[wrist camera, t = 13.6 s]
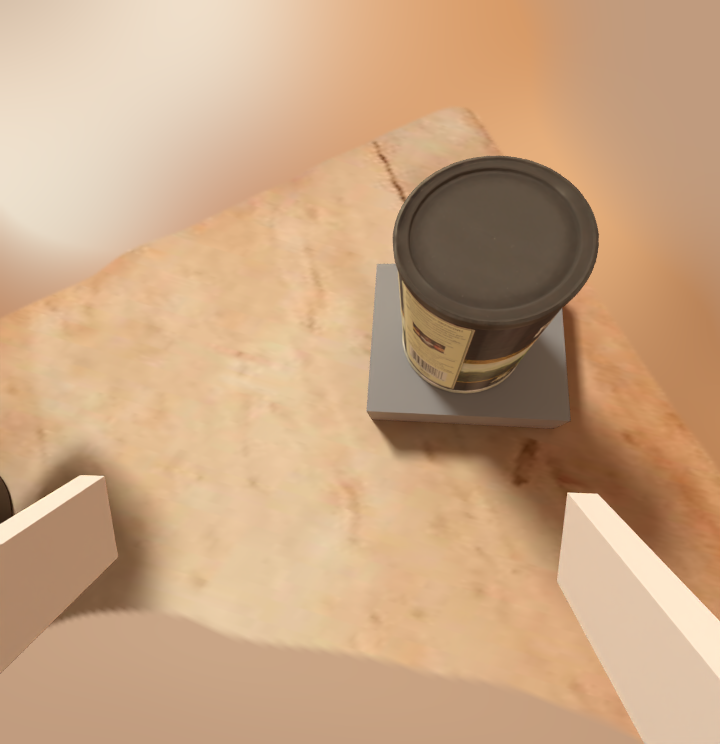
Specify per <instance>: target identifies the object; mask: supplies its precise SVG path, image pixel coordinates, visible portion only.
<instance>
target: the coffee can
mask: <svg viewBox="0 0 720 744" xmlns="http://www.w3.org/2000/svg"><path fill="white" fill-rule="evenodd" d="M598 238H599V234H598V228H597V224H596V220H595V217H594V214H593V212H592V209H591V207H590V206H589V204H588V202H587V201H586V199H585V198H584V197H583V195H582V194H581V193H580V191H579V190H578V189H577V188H576V187H575V186H574V185H573V184H572V183H571V182H569V181H568V180H567V179H566V178H564V177H563V176H561V175H560V174H558V173H557V172H555V171H553V170H552V169H550V168H548V167H546V166H544V165H541V164H539V163H536V162H533V161H530V160H526V159H521V158H516V157H509V156H484V157H476V158H471V159H466V160H463V161H459V162H456V163H453V164H451V165H449V166H447V167H444V168H442V169H440V170H438V171H437V172H435V173H433V174H432V175H430V176H429V177H428V178H426V179H425V180H424V181H423V182H421V183H420V184H419V185H418V186H417V187H416V188H415V189H414V190H413V191H412V192H411V194H410V195H409V196H408V198H407V199H406V201H405V202H404V204H403V205H402V207H401V210H400V211H399V214H398V216H397V219H396V222H395V226H394V231H393V251H394V258H395V263H396V267H397V270H398V280H399V292H400V306H401V317H402V328H403V333H402V343H403V348H404V352H405V355H406V357H407V359H408V361H409V363H410V365H411V367H412V368H413V369H414V370H415V371H416V372H417V374H418V375H419V376H421V377H422V378H423V379H424V380H425V381H427V382H428V383H430V384H432V385H433V386H435V387H437V388H440V389H443V390H446V391H449V392H454V393H475V392H480V391H484V390H487V389H490V388H492V387H494V386H496V385H498V384H499V383H501V382H503V381H504V380H505V379H506V378H507V377H508V376H509V375H510V374H511V373H512V372H513V371H514V370H515V368H516V367H517V365H518V363H519V362H520V360H521V359H522V358H523V356H524V355H525V354H526V352H527V351H528V350H529V348H530V347H531V346H532V345H533V343H534V342H535V341H536V340H537V339H538V337H539V336H540V335H541V333H542V332H543V331H544V330H545V329H546V328H547V326H548V325H549V324H550V323H551V321H552V320H553V319H554V317H555V316H556V315H557V314H558V312H559V311H560V310H561V309H562V307H564V306H565V305H566V304H567V303H568V302H569V301H570V300H571V299H572V298H573V297H575V296H576V294H577V293H578V292H579V291H580V290H581V288H582V287H583V286H584V284H585V283H586V282H587V280H588V278H589V276H590V274H591V273H592V270H593V268H594V264H595V262H596V258H597V253H598V246H599V243H598Z"/></svg>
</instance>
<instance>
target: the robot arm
mask: <svg viewBox="0 0 720 744" xmlns="http://www.w3.org/2000/svg"><path fill="white" fill-rule="evenodd" d="M117 558H118V553H117V547H116V541H115V535H114V529H113V523H112V517H111V511H110V505H109V499H108V493H107V487H106V481H105V476H93V475H80V476H78V477H76V478H75V479H73V480H72V481H70V482H68V483H67V484H65V485H63V486H62V487H60V488H58V489H57V490H55V491H53V492H52V493H50V494H49V495H47V496H45V497H44V498H42V499H40V500H39V501H37V502H35V503H34V504H32V505H31V506H29V507H27V508H26V509H24V510H22V511H21V512H19V513H17V514H16V515H14V516H13V517H11V505H10V499H9V495H8V492H7V489H6V487H5V485H4V483H3V481H2V479H1V478H0V673H1V672H2V671H4V669H6V668H7V667H8V666H9V665H10V664H11V663H12V662H13V661H14V660H15V659H16V658H17V657H18V656H19V655H20V654H21V653H22V651H24V650H25V649H26V648H27V647H28V646H29V645H30V644H31V643H32V642H33V641H34V640H35V639H36V638H37V637H38V636H39V635H40V634H41V633H42V632H43V631H44V630H45V629H46V628H47V627H48V626H49V625H50V624H51V623H52V622H53V621H54V620H55V619H56V618H57V617H58V616H59V615H60V614H61V613H62V612H63V611H64V610H65V609H66V608H67V607H68V606H69V605H70V604H71V603H72V602H73V601H74V600H75V599H76V598H77V597H78V596H79V595H80V594H81V593H82V592H83V591H84V590H85V589H86V588H87V587H88V586H89V585H90V584H92V583H93V582H94V581H95V580H96V579H97V578H98V577H99V576H100V575H101V574H102V573H103V572H104V571H105V570H106V569H107V568H108V567H109V566H110V565H111V564H112V563H113V562H114V561H115V560H116V559H117ZM557 582H558V584H559V586H560V588H561V590H562V592H563V594H564V595H565V597H566V599H567V601H568V603H569V605H570V607H571V608H572V610H573V612H574V614H575V616H576V618H577V620H578V621H579V623H580V625H581V627H582V629H583V631H584V633H585V634H586V636H587V638H588V640H589V642H590V644H591V646H592V647H593V649H594V651H595V653H596V655H597V657H598V659H599V660H600V662H601V664H602V666H603V668H604V670H605V672H606V673H607V675H608V677H609V679H610V681H611V683H612V685H613V686H614V688H615V690H616V692H617V694H618V696H619V698H620V699H621V701H622V703H623V705H624V707H625V709H626V711H627V712H628V714H629V716H630V718H631V720H632V722H633V724H634V725H635V727H636V729H637V731H638V733H639V735H640V737H641V738H642V740H643V742H644V744H720V621H719V620H718V619H717V618H716V617H715V616H714V615H713V614H712V613H711V612H710V611H709V610H708V609H707V608H706V607H705V606H704V604H703V603H702V602H701V601H700V600H699V599H698V598H697V597H696V596H695V595H694V594H693V593H692V592H691V591H690V590H689V589H688V588H687V587H686V586H685V585H684V584H683V582H682V581H681V580H680V579H679V578H678V577H677V576H676V575H675V574H674V573H673V572H672V571H671V570H670V569H669V568H668V567H667V566H666V565H665V564H664V563H663V562H662V561H661V559H660V558H659V557H658V556H657V555H656V554H655V553H654V552H653V551H652V550H651V549H650V548H649V547H648V546H647V545H646V544H645V543H644V542H643V541H642V540H641V539H640V537H639V536H638V535H637V534H636V533H635V532H634V531H633V530H632V529H631V528H630V527H629V526H628V525H627V524H626V523H625V522H624V521H623V520H622V519H621V518H620V517H619V516H618V514H617V513H616V512H615V511H614V510H613V509H612V508H611V507H610V506H609V505H608V504H607V503H606V502H605V501H604V500H603V499H602V498H601V497H600V496H599V495H598V494H593V493H567V500H566V509H565V517H564V526H563V534H562V543H561V551H560V560H559V568H558V576H557Z"/></svg>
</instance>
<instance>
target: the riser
mask: <svg viewBox="0 0 720 744" xmlns="http://www.w3.org/2000/svg"><path fill="white" fill-rule="evenodd" d="M402 333H403V328H402V317H401V306H400V292H399V280H398V270H397V267H396V264H377V272H376V286H375V300H374V314H373V328H372V343H371V357H370V371H369V385H368V400H367V412H368V414H369V416H370V417H371V419H375V420H395V421H414V422H434V423H453V424H473V425H492V426H512V427H532V428H551V429H554V428H556V427H558V426H560V425H563V424H565V423H567V422H569V421H571V419H570V406H569V393H568V380H567V367H566V354H565V340H564V327H563V314H562V309H561V310H560V311H559V312H558V314H557V315H556V316H555V317H554V319H553V320H552V321H551V323H550V324H549V325H548V326H547V328H546V329H545V330H544V331H543V332H542V333H541V335H540V336H539V337H538V339H537V340H536V341H535V342H534V343H533V345H532V346H531V347H530V348H529V350H528V351H527V352H526V354H525V355H524V356H523V358H522V359H521V360H520V362H519V363H518V365H517V367H516V368H515V370H514V371H513V372H512V373H511V374H510V375H509V376H508V377H507V378H506V379H505V380H504V381H503V382H501V383H499V384H498V385H496V386H494V387H492V388H490V389H487V390H484V391H480V392H475V393H454V392H449V391H446V390H443V389H440V388H437V387H435V386H433V385H432V384H430V383H428V382H427V381H425V380H424V379H423V378H422V377H421V376H419V375H418V374H417V372H416V371H415V370H414V369H413V368H412V367H411V365H410V363H409V361H408V359H407V357H406V355H405V352H404V348H403V343H402Z"/></svg>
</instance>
